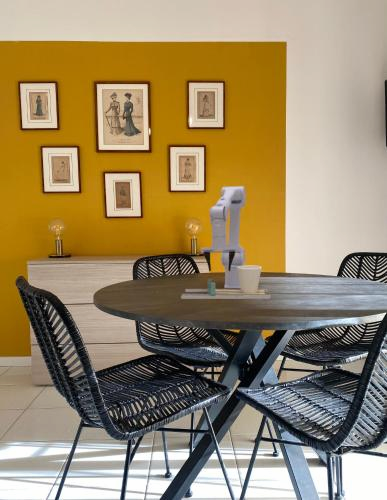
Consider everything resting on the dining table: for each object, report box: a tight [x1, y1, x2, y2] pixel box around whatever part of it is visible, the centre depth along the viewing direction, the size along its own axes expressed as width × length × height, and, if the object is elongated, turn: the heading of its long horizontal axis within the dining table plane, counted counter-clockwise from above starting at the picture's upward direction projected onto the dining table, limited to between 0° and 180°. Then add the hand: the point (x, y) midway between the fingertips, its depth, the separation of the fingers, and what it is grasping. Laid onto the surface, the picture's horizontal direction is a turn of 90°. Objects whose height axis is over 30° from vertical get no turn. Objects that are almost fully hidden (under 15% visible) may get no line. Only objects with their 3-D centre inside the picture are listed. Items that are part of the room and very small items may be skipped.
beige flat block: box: [207, 279, 266, 294], centre depth 201 cm, size 11×23×6 cm, turn 85°
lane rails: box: [180, 282, 272, 300], centre depth 200 cm, size 17×34×6 cm, turn 85°
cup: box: [237, 265, 263, 293], centre depth 201 cm, size 10×10×11 cm
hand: (219, 270), depth 199 cm, fingers open, 7 cm apart
